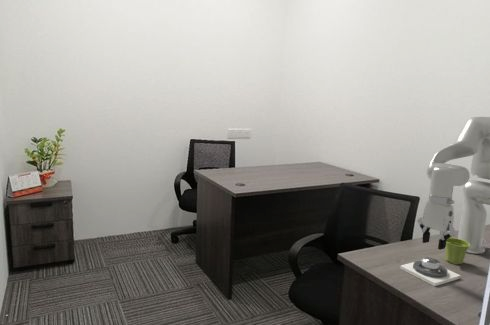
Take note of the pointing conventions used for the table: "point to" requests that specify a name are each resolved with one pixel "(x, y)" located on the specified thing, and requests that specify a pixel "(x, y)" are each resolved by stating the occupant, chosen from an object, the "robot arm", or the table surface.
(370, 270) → the table surface
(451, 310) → the table surface
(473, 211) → the robot arm
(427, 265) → the cap
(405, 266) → the mounted pipe fitting
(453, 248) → the plant pot
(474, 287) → the table surface
